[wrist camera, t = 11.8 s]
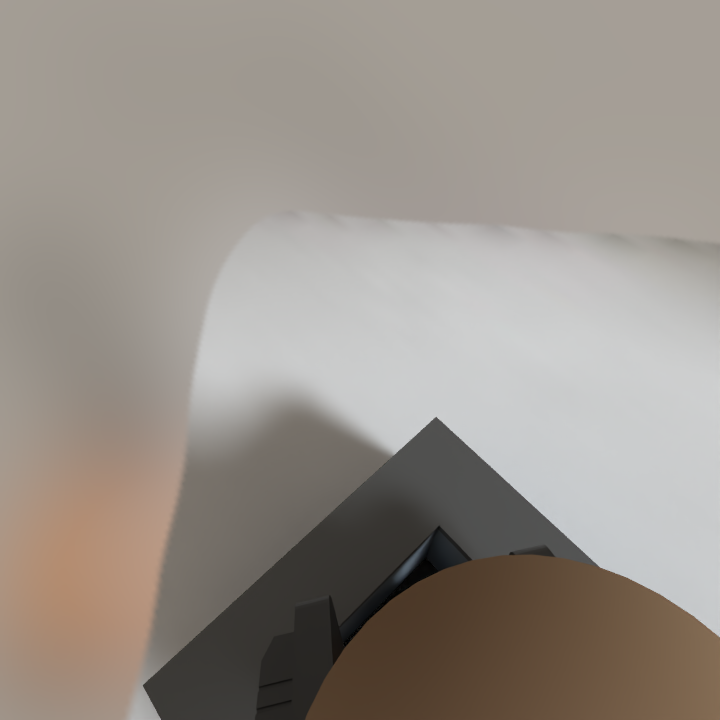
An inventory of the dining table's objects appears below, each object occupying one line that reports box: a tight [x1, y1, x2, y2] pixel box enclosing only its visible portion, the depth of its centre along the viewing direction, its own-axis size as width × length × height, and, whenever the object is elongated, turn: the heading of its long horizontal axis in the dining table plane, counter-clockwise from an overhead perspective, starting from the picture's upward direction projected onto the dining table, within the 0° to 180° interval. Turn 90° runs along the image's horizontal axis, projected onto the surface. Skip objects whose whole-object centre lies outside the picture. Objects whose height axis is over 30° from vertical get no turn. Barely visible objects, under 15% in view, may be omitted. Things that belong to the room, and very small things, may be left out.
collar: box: [143, 417, 599, 720], centre depth 14 cm, size 10×10×6 cm
